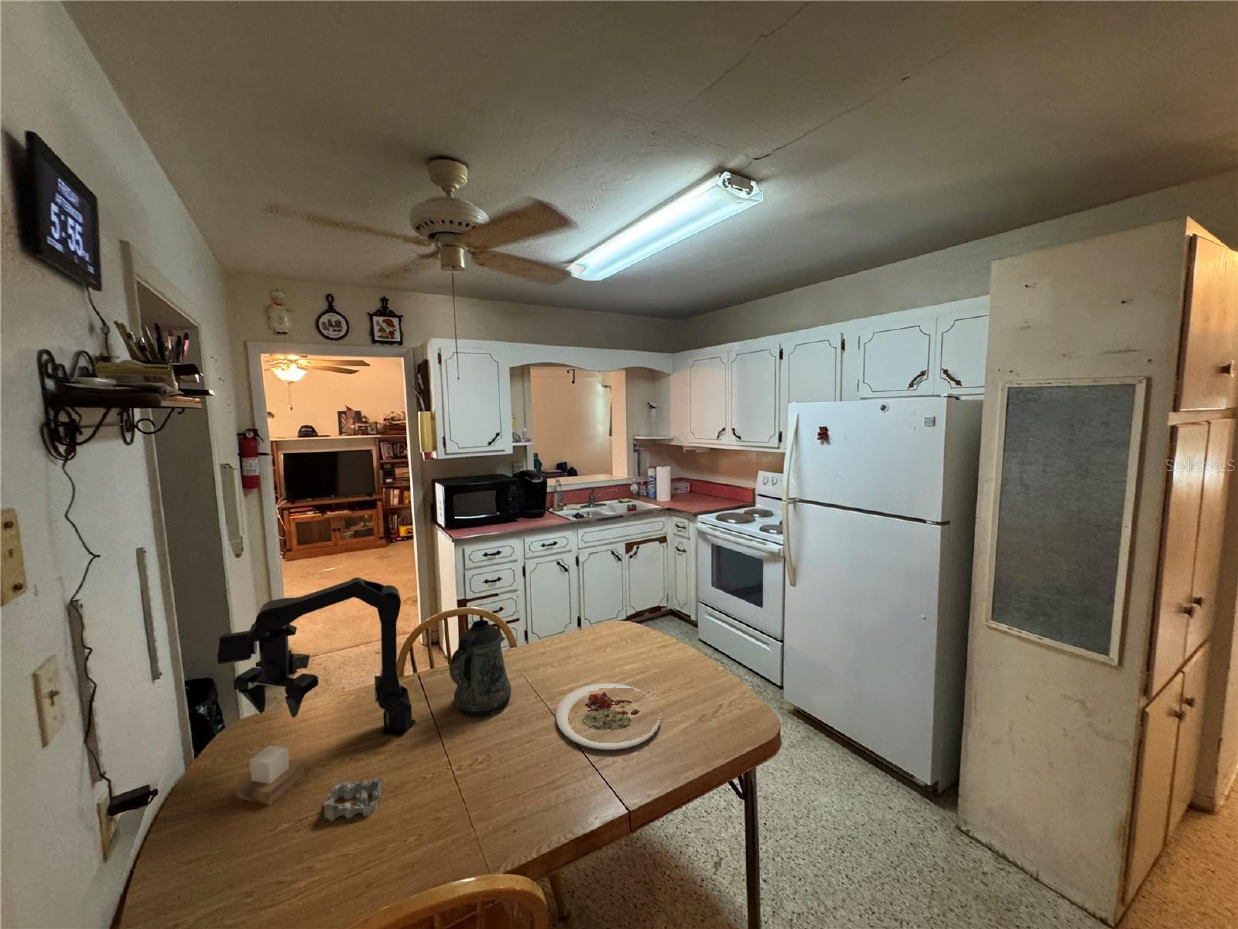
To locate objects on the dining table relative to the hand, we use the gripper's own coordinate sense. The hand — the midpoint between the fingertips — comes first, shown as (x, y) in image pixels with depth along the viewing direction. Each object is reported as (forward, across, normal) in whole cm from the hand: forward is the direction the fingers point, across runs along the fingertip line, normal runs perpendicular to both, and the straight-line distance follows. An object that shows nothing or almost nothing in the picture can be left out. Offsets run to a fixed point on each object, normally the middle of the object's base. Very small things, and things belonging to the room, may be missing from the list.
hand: (278, 714), depth 119 cm
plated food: (+13, -76, -33) cm, 84 cm away
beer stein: (+12, -38, -31) cm, 51 cm away
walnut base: (+12, -5, +8) cm, 15 cm away
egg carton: (+12, -27, +9) cm, 31 cm away
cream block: (+9, -5, +8) cm, 13 cm away
